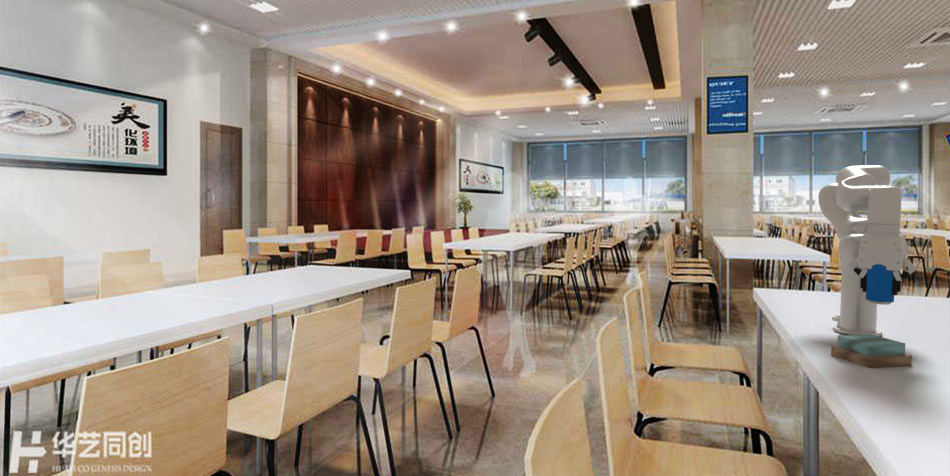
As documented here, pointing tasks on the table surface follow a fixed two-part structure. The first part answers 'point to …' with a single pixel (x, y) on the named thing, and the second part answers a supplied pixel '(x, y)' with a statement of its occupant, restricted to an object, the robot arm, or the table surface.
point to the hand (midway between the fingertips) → (880, 292)
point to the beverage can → (879, 285)
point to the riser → (871, 351)
